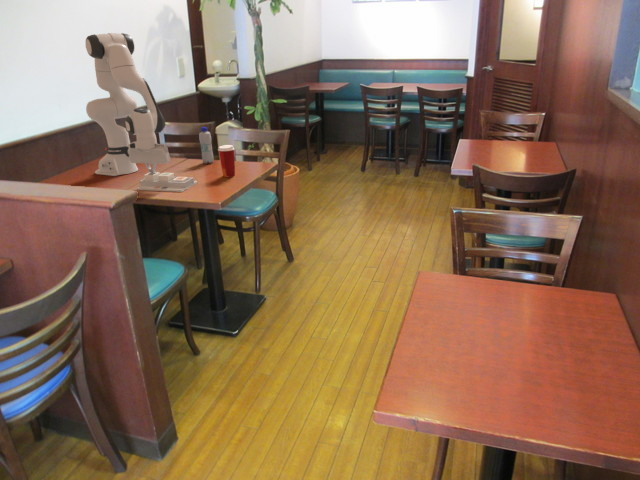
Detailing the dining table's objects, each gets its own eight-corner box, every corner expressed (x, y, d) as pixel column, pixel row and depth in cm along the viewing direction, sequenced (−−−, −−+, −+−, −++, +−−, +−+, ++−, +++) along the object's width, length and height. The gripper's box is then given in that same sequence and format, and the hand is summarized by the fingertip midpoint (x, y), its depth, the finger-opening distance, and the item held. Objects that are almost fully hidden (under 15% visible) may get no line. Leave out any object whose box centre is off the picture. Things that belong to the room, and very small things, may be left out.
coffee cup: (239, 173, 262) (236, 144, 256) (233, 178, 254) (230, 148, 248) (225, 173, 264) (221, 144, 258) (218, 177, 256) (214, 148, 251)
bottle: (211, 164, 283) (207, 128, 275) (200, 164, 284) (195, 128, 276) (216, 161, 289) (211, 125, 281) (205, 161, 290) (200, 125, 283)
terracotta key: (173, 185, 241) (172, 179, 240) (179, 182, 246) (178, 176, 245) (183, 186, 240) (182, 179, 239) (189, 183, 245) (188, 176, 243)
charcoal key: (145, 181, 244) (143, 174, 243) (151, 177, 249) (150, 171, 248) (155, 181, 243) (153, 175, 242) (161, 178, 248) (160, 172, 247)
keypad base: (137, 189, 242) (135, 182, 241) (154, 181, 255) (153, 174, 254) (182, 192, 236) (181, 184, 234) (197, 182, 249) (196, 175, 247)
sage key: (158, 181, 242) (157, 175, 241) (164, 178, 247) (163, 172, 246) (168, 182, 241) (167, 175, 240) (175, 178, 246) (174, 172, 245)
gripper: (170, 142, 239) (174, 171, 245) (132, 142, 245) (138, 170, 250) (163, 145, 234) (167, 174, 239) (124, 144, 239) (130, 173, 244)
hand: (152, 172), depth 245 cm, fingers closed
